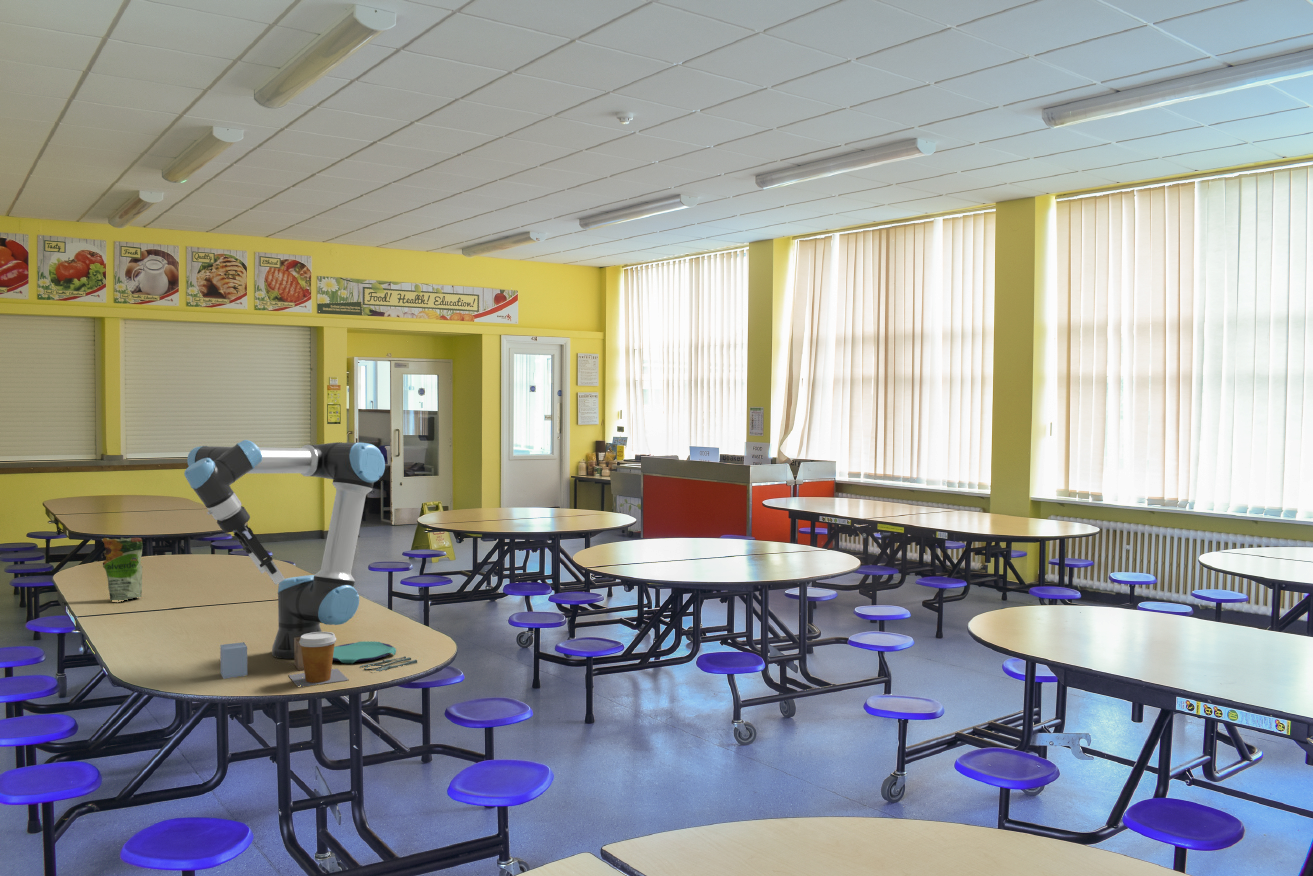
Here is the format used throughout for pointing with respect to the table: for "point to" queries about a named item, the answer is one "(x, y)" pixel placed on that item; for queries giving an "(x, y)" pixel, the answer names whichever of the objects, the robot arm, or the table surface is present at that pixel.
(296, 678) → the mat
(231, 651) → the slate block
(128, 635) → the table surface
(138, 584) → the pouch
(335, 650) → the cutlery set
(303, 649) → the disposable coffee cup
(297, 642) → the walnut block
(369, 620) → the table surface
